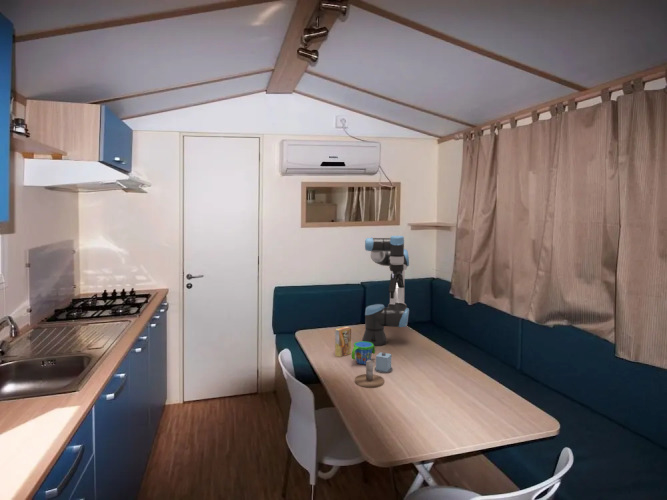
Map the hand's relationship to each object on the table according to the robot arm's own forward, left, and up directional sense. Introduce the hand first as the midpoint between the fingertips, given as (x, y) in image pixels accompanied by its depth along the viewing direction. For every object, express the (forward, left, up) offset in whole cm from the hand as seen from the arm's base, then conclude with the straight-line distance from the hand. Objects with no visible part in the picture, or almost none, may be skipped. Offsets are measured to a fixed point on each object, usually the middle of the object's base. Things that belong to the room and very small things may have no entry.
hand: (396, 301), depth 222 cm
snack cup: (-2, -21, -31) cm, 38 cm away
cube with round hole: (+12, -19, -31) cm, 38 cm away
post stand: (+19, -34, -31) cm, 50 cm away
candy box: (-18, -23, -31) cm, 43 cm away
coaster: (+12, -19, -31) cm, 38 cm away
